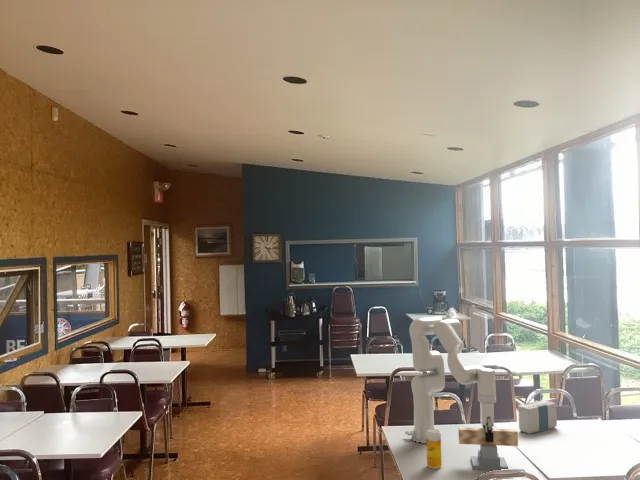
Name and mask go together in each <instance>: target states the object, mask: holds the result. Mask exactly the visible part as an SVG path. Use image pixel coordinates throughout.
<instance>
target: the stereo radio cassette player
mask: <svg viewBox="0 0 640 480" xmlns="http://www.w3.org/2000/svg"><path fill="white" fill-rule="evenodd" d="M542 390H544V387H542V388H541V389H540V390H538V392H537V393H536V394H534V396H533V397H531V399H529V400H528V401H527V402H526V403H523V404H517V410H518V429H519V431H520V432H523V433H525V434H527V435H530V434H534V433H538V432H542V431H546V430H550V429H554V428H556V427H557V425H558V424H557V423H558V421H557V419H558V417H557V404H556V403H555V402H554V401H553V402H552V401H548V400H544V399H543V400H538V401H533V402H531V401H532V400H534V398H535V397H537V396H538V394H539V393H540V392H541V391H542Z"/></svg>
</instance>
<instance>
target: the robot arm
mask: <svg viewBox="0 0 640 480" xmlns="http://www.w3.org/2000/svg"><path fill="white" fill-rule="evenodd" d="M463 331H464V327H463V324H462V323H461V322H460V320H458V319H456V318H451V317H444V316H429V317H428V316H427V317H420V318H416V319H414V320H413V321H412V322H411V323H410V326H409V337H410V340H411V352H412V365H413V368H414V370H415V371H417V372H419V373H422V372H423V373H422V374H418V375H415V376H414V377H413V378H412V379H411V382H410V383H411V385H410V386H411V392H412V396H413V417H414V418H413V420H414V421H413V423H414V427H413V429H412V430H407V429H406V430H404V433H405V435H407V436H411V440H412V439H413V440H414V441H413V440H412V441H413V442H415V441H416V442H415V443H418V442H421V443H420V444H426V433H427V430H430V429H435V417H434V416H435V414H434V413H435V412H434V411H435V409H434V401H433V399H432V397H431V396H430V394H434V393H438V392H442V391H443V390H444V389H445V386H446V375H445V372H446V371H445V363H444V357H443V355H442V354H441V352H439V351H438V350H430V349H431V348H430V342H429V339H428V338H427V336H430V335H431V336H432V335H435V336H436V337H437V339H438V341H439V342H440V343H441V345H442V347H443V349H445V351H446V352H447V359H446V360H447V367H448V369H449V371H450V373H451V375H452V376H453V377H454V379H455V380H456V382H458V383H459V384H460V385H465V386H466V385H469V384H471V385H472V384H477V402H478V403H479V405H480V407H479V416H480V417H479V421H480V422H479V423H480V424H481V427H482V428H486V432H485V441H486V442H494V439H493V429H494V428H493V427H494V426H495V410H494V408H495V407H494V405H495V404H496V403H497V389H496V388H497V387H496V386H497V383H496V371H495V370H494V369H493V368H490V367H485V366H482V365H479V364H473V365H465V366H464V365H462V362H461V361H460V359H459V358H458V355H459V354H460V353H461V352H462V351H463V350H464V348H465V343H464V341H463V340H462V339H461V338H460V336H461V335H462V334H463ZM424 372H429V373H424Z"/></svg>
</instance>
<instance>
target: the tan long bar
mask: <svg viewBox="0 0 640 480" xmlns="http://www.w3.org/2000/svg"><path fill="white" fill-rule="evenodd" d="M457 431H458V444H459V445H478V446H480V445H496V446H499V447H500V446H504V447H505V446H507V447H518V446H519V441H518V440H519V439H518V430H517V429H516V428H493V439H494V442H486V441H485V432H486V428H483V427H463V426H462V427H461V426H460V427H458V430H457Z"/></svg>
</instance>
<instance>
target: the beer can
mask: <svg viewBox="0 0 640 480" xmlns="http://www.w3.org/2000/svg"><path fill="white" fill-rule="evenodd" d="M441 436H442V435H441V432H440V430H438V429H435V428H434V429H430V430H427V433H426V443H425V444H426V465H427V466H428V468H429V469H431V470H432V469H433V470H438V469H440V468H441V467H442V438H441Z"/></svg>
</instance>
